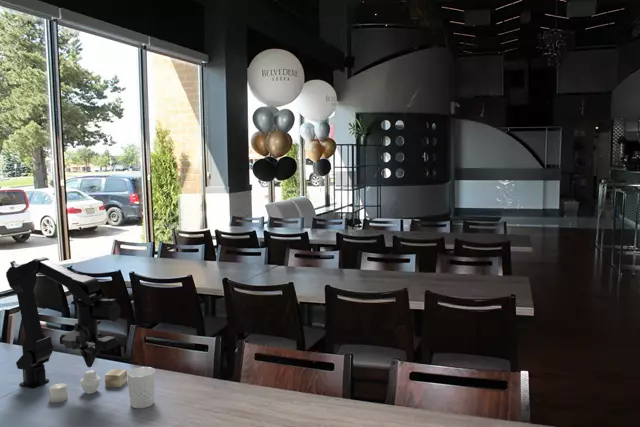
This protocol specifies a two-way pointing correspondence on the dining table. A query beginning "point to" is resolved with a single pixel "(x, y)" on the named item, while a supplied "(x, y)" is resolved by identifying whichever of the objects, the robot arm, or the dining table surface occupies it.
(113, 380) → the maple block
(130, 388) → the white cup
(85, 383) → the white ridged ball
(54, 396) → the white rounded lump
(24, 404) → the dining table surface
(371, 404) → the dining table surface
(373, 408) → the dining table surface
